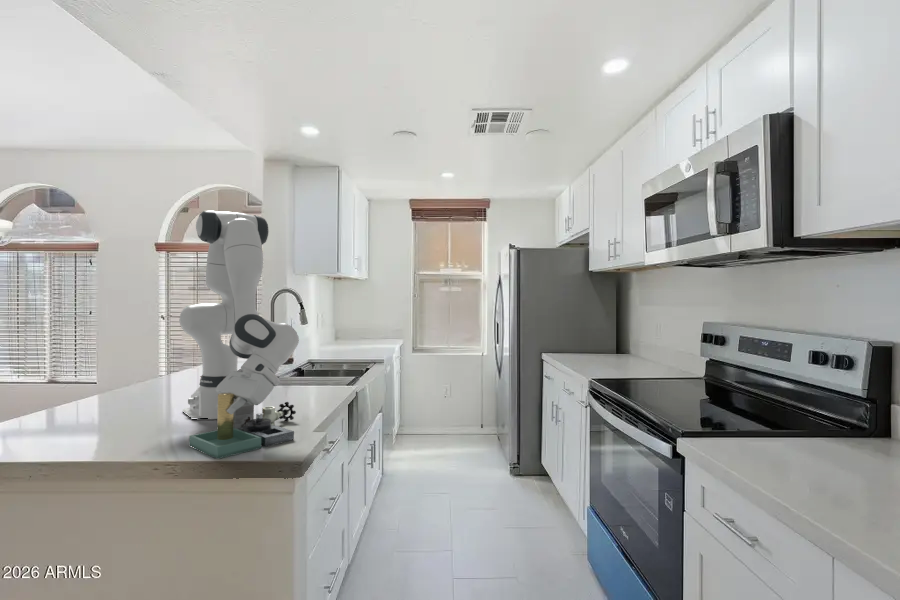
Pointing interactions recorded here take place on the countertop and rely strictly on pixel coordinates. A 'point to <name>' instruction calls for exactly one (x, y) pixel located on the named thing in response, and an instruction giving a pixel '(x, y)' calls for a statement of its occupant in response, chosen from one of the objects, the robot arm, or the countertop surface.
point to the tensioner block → (267, 431)
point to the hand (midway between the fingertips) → (223, 411)
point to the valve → (278, 413)
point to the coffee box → (243, 415)
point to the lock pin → (225, 417)
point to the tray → (225, 443)
